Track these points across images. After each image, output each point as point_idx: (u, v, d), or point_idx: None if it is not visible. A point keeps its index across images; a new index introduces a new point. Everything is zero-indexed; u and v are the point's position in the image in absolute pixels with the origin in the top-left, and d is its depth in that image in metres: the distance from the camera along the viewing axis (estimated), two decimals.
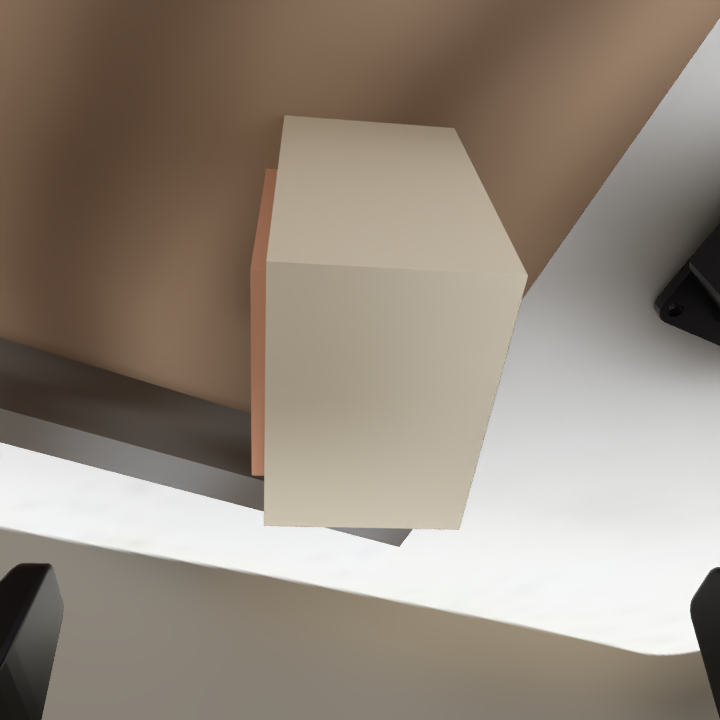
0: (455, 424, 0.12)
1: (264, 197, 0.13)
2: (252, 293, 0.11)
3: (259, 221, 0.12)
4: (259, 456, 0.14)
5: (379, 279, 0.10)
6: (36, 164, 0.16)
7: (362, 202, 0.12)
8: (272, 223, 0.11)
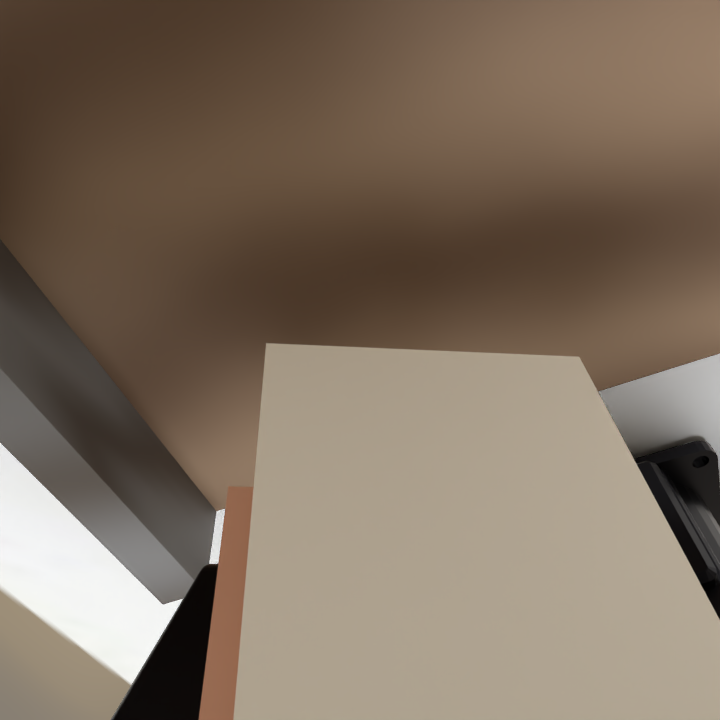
0: None
1: (217, 616, 0.06)
2: None
3: None
4: None
5: None
6: None
7: None
8: None
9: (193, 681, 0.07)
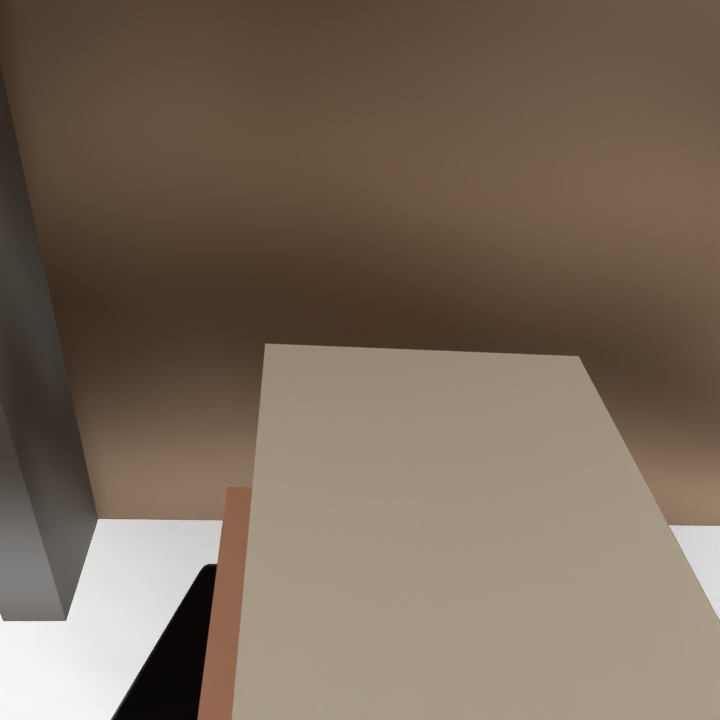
0: None
1: (216, 616, 0.06)
2: None
3: None
4: None
5: None
6: None
7: None
8: None
9: (193, 681, 0.07)
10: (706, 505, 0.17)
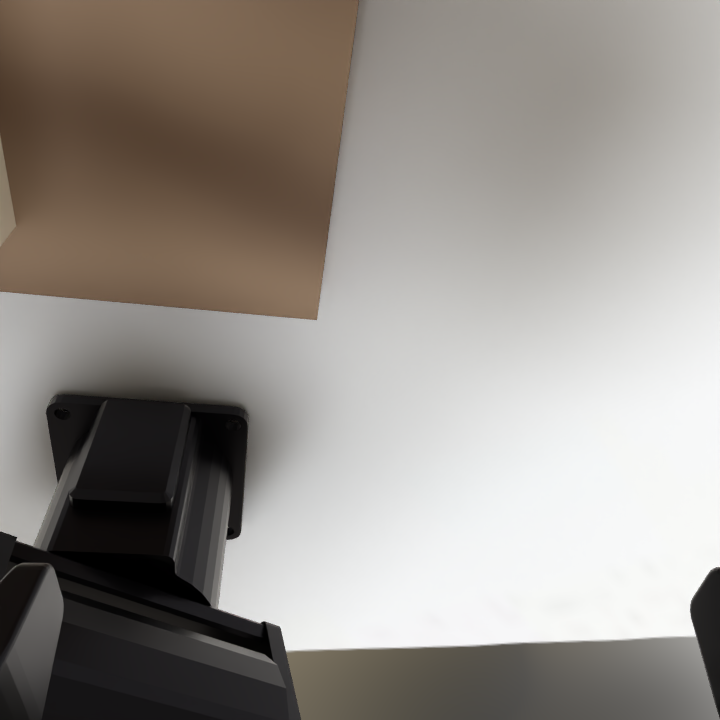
0: None
1: None
2: None
3: None
4: None
5: None
6: None
7: None
8: None
9: None
10: (278, 293, 0.19)
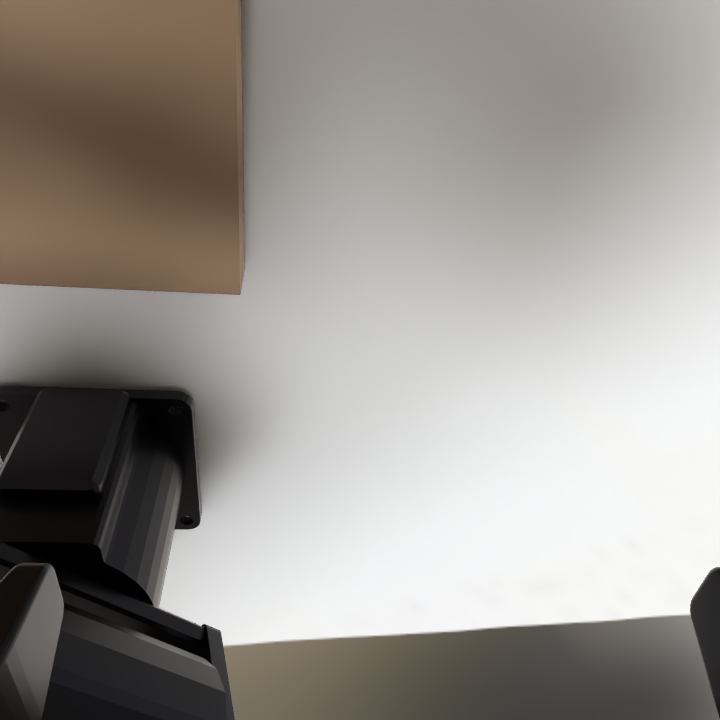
0: None
1: None
2: None
3: None
4: None
5: None
6: None
7: None
8: None
9: None
10: (195, 268, 0.18)
